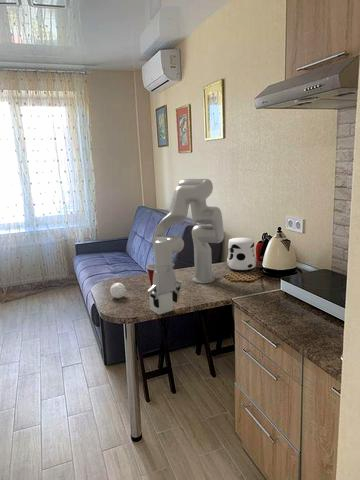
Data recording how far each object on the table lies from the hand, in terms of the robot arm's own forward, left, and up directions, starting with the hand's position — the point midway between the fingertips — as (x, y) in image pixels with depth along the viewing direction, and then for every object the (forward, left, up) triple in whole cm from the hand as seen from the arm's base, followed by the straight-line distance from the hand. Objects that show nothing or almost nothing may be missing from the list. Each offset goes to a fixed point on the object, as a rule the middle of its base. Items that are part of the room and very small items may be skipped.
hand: (165, 304), depth 165 cm
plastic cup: (-14, -31, -4) cm, 34 cm away
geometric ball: (+9, -31, -4) cm, 33 cm away
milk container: (-71, -26, -4) cm, 76 cm away
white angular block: (0, -4, -4) cm, 5 cm away
